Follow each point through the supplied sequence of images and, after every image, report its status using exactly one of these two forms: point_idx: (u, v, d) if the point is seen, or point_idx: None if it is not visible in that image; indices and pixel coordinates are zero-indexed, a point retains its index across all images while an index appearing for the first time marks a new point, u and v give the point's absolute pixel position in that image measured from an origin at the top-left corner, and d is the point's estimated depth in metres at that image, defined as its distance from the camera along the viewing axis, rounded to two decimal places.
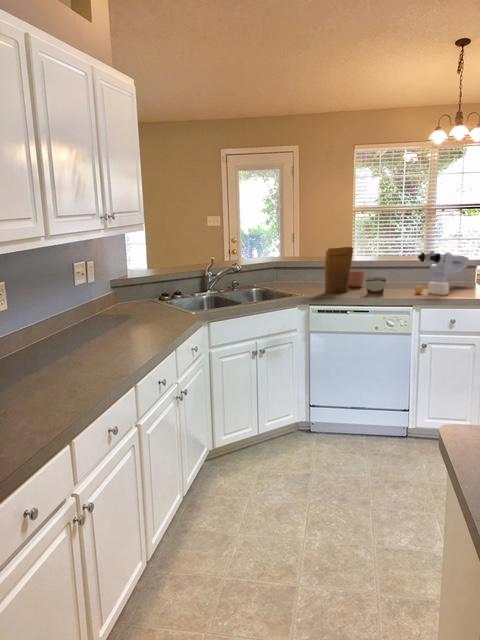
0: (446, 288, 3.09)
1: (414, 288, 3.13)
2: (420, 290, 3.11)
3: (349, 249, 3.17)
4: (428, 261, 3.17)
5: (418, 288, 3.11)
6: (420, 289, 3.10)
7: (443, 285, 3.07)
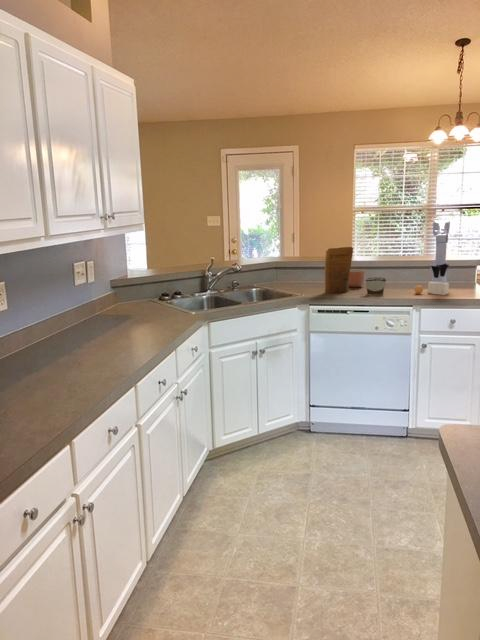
0: (446, 288, 3.09)
1: (414, 288, 3.13)
2: (420, 290, 3.11)
3: (349, 249, 3.17)
4: None
5: (418, 288, 3.11)
6: (420, 289, 3.10)
7: (443, 285, 3.07)
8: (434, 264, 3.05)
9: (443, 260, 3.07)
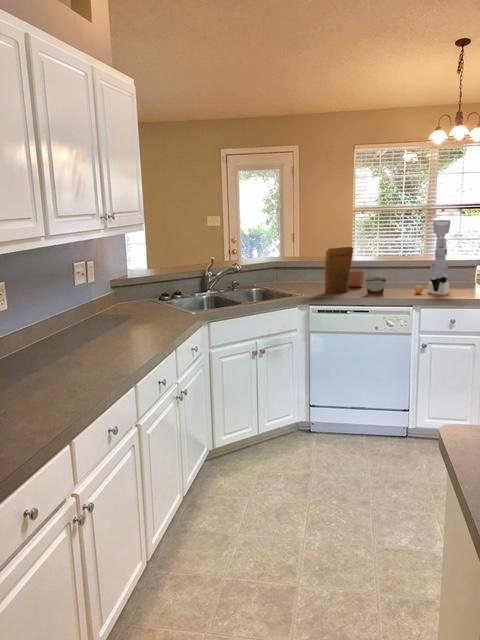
0: (446, 288, 3.09)
1: (414, 288, 3.13)
2: (420, 290, 3.11)
3: (349, 249, 3.17)
4: (434, 276, 3.12)
5: (418, 288, 3.11)
6: (420, 289, 3.10)
7: (443, 285, 3.07)
8: (433, 278, 3.06)
9: (442, 273, 3.08)
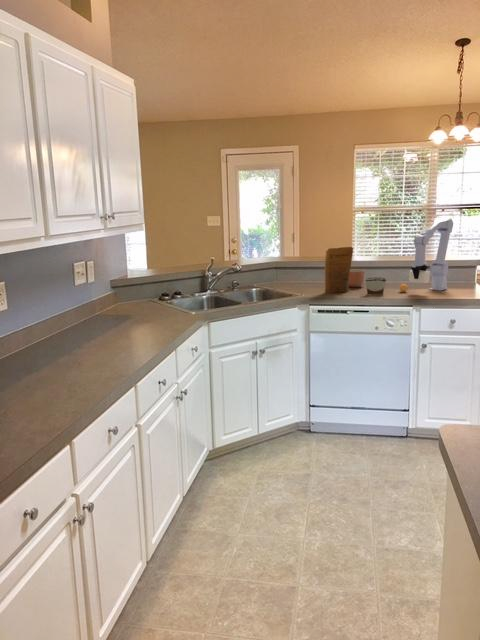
0: (427, 276, 3.07)
1: (405, 286, 3.18)
2: (400, 290, 3.20)
3: (349, 249, 3.17)
4: (414, 264, 3.10)
5: (402, 290, 3.19)
6: (400, 290, 3.20)
7: (424, 273, 3.05)
8: (413, 265, 3.05)
9: (422, 261, 3.07)
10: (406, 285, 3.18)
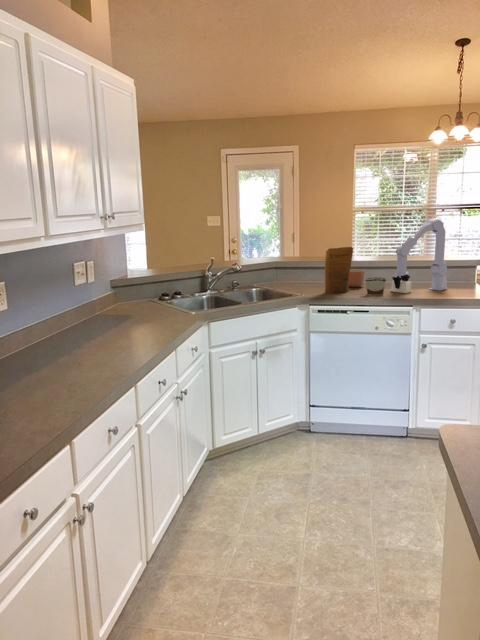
0: (408, 286, 3.17)
1: None
2: None
3: (349, 249, 3.17)
4: (396, 274, 3.20)
5: None
6: None
7: (405, 283, 3.15)
8: (395, 275, 3.15)
9: (404, 271, 3.17)
10: None
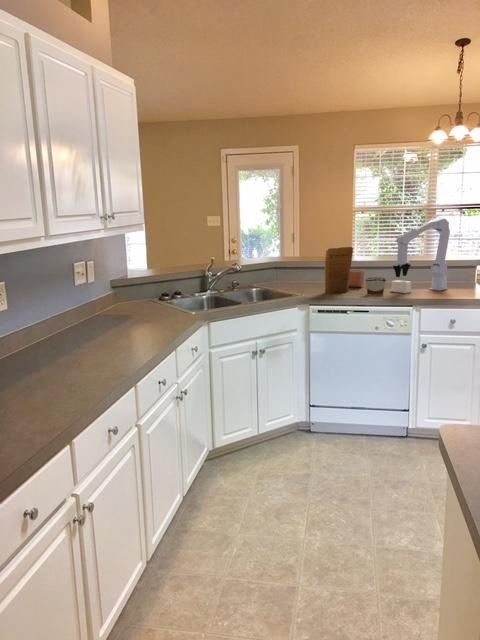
0: (408, 286, 3.17)
1: None
2: None
3: (349, 249, 3.17)
4: None
5: None
6: None
7: (405, 283, 3.15)
8: (395, 264, 3.13)
9: (404, 260, 3.15)
10: None
